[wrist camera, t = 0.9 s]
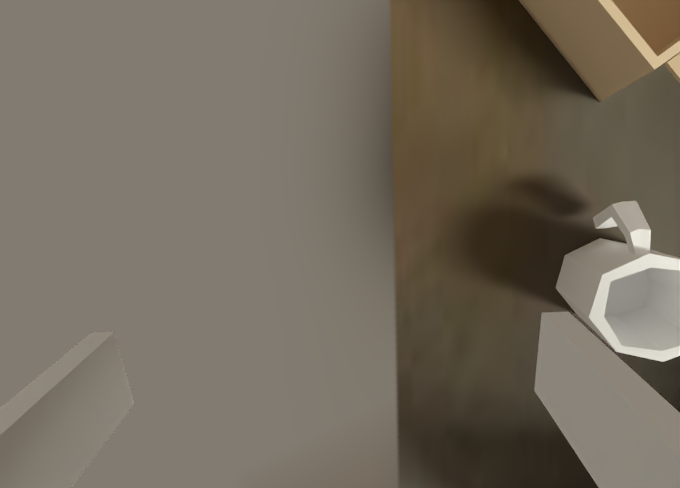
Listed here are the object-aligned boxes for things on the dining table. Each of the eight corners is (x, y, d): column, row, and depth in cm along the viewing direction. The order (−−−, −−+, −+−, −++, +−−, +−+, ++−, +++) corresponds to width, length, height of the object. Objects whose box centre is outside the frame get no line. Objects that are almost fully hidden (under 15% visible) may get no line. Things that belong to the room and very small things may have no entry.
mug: (659, 316, 38) (730, 357, 29) (560, 325, 40) (595, 366, 31) (644, 192, 37) (711, 192, 28) (543, 208, 39) (574, 214, 30)
